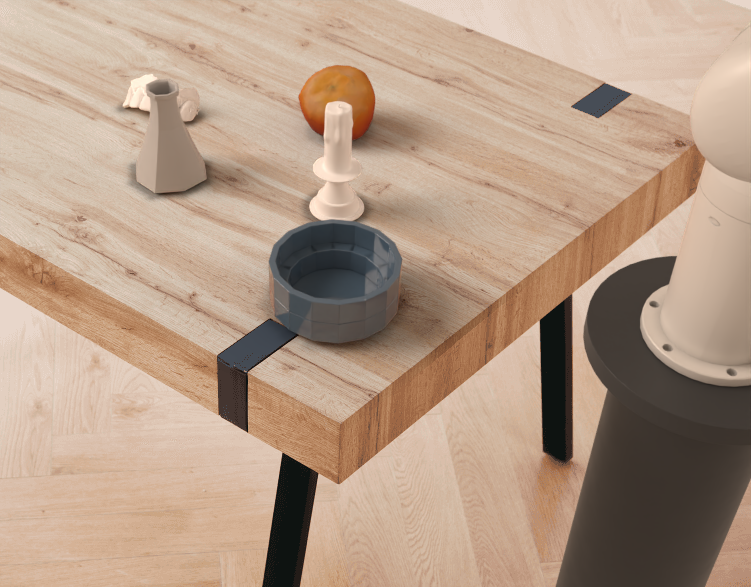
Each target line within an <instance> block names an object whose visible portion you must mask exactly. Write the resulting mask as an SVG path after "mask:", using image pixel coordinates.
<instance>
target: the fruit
mask: <svg viewBox="0 0 751 587" xmlns="http://www.w3.org/2000/svg"><path fill="white" fill-rule="evenodd" d="M335 101H342V102H346V103H348V104H350V105H351V106H352V119H353V127H352V141H356V140H358V139H360V138H362V137H363V136H364V135H365V133H366V132H367V131H368V130H369V129H370V127H371V124H372V122H373V120H374V116H375V109H376V94H375V89H374V87H373V84H372V83H371V80H370V78H369V76H368V75H367V73H366V72H365V71H363V70H361V69H359V68H357V67H355V66H351V65H345V64H344V65H343V64H334V65H330V66H326V67H323V68H321V69H320V70H318V71H316V72H314V73H313V74H312V75H311V76H310V77H308V79H306V81H305V82H304V84H303V86H302V88H301V90H300V92H299V94H298V102H299V107H300V110H301V113H302V116H303V118H304V120H305V121H306V122H307V124H308V126H309V127H310V129H311V130H312V131H313V132H315V133H316V134H318V135H319V136H323V137H324V129H325V109H326V105H327V103H330V102H335Z"/></svg>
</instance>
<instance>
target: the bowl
mask: <svg viewBox="0 0 751 587" xmlns="http://www.w3.org/2000/svg"><path fill="white" fill-rule="evenodd" d="M271 248H272V249H271V252H270V255H269V258H268V286H269V287H268V288H269V289H268V290H269V301H270V305H271V308H272V309H271V310H272V312H273V315H274V317H275V319H277V320H278V321H279V322H280V323H281V324H282V325H283V326H284V327H285V328H286V329H287V330H288V331H290V332H292V333H294V334H296V335H298V336H301V337H303V338H305V339H308V340H310V341H313V342H320V343H321V342H323V343H329V344H343V343H350V342H355V341H356V342H357V341H362V340H366V339H367V338H369V337H371V336H373V335H375V334H377V333H379V332H381V331H383V330H385V329H386V327H387V326H388V325H389V324H390V323H391V321H393V319H394V318H395V317H396V315H397V314H398V311H399V310H398V309H399V305H400V297H401V285H402V271H403V257H402V255H401V252H400V250H399V249H398V246H397V244H396V243H395V241H394V240H392V239H391V238H390V237H389V236H388V235H387V234H385V233H384V232H382V231H381V230H379V228H378V229H377V228H375V227H372V226H370V225H367V224H365V223H362V222H359V221H356V220H354V221H346V220H337V219H329V220H322V221H321V220H315V221H309V222H306V223H303V224H302V225H299V226H297V227H295V228H291V229H290V230H287V231H286V232H285V233H284V234H283V235H282V236H281V237H280V238H279V239H278V240H277V241H276V242H275V243H274V244H273V245H272V247H271Z"/></svg>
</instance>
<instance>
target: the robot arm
mask: <svg viewBox="0 0 751 587" xmlns="http://www.w3.org/2000/svg"><path fill="white" fill-rule="evenodd" d="M689 125H690V132H691V135H692V139H693V143H694V145H695V146H696V149H697V150H698V151H699V153H700V154H701V156H702V157H703V158H704V163H703V166H702V170H701V172H700V173H701V174H700V176H699V180H698V183H697V185H696V190H695V193H694V196H693V200H692V204H691V207H690V211H689V214H688V218H687V221H686V225H685V228H684V232H683V235H682V238H681V242H680V245H679V248H678V252H677V255H676V256H677V258H676V262H675V265H674V269H673V272H672V275H671V279H670V282H669V284H668V285H666V286H664V287H661V288H660V289H658V290H657V291H655V292H654V293H652V295H651V296H650V297H649V298H648V299H647V300H646V302H645V305H644V307H643V309H642V313H641V317H640V329H641V333H642V336H643V339H644V340H645V342H646V344H647V346H648V347H649V349H650V350H651V351H652V352H653V353H654V355H655V356H656V357H657V358H659V359H660V360H661V361H662V362H663V363H664V364H666V365H667V366H669V367H670V368H672V369H673V370H675V371H677V372H678V373H680V374H682V375H685V376H687V377H689V378H691V379H694V380H697V381H700V382H703V383H707V384H712V385H718V386H730V387H738V386H749V385H751V20H750V21H749V22H748V24H746V25H745V27H744V28H743V29H742V30H741V31H740V32H739V33H738V34H737V36H736V37H735V38H734V39H733V40H732V42H731V43H730V44H729V45H728V46H727V47H726V48H725V49H724V51H722V52H721V54H720V55H719V56H718V57H717V58H716V59H715V60H714V61H713V63H712V64H711V65H710V66H709V67H708V69H707V70H706V72H704V74H703V76H702V77H701V78H700V81H699V83H698V84H697V86H696V89H695V90H694V93H693V96H692V100H691V104H690V110H689Z"/></svg>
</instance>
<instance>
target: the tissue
mask: <svg viewBox="0 0 751 587" xmlns="http://www.w3.org/2000/svg"><path fill="white" fill-rule="evenodd" d="M154 80H159V79H158V77H157V76H154V73H150V74H144V75H142V76H141V77H137V78H134V79H131V80H130V86H129V88H128V90H127V95H126V97H125V100H124V102H123V103H122V108H123V109H127V108H132V109H133V108H134V109H138V108H139V110H141V111H145V112H149V113H150V105H151V104H150V97H148V96H147V94H146V84H148V83H150V82H152V81H154ZM200 97H201V96H200V94H199V92H198V90H197V88H196V87H194V86H193V87H184V88H181V89H179V95H178V96H177V104H178V107H179V111H180V114H181V117H182V120H183V122H191V121H193V120H194V119H195V118H196V116H199V111H200V99H201V98H200Z"/></svg>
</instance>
